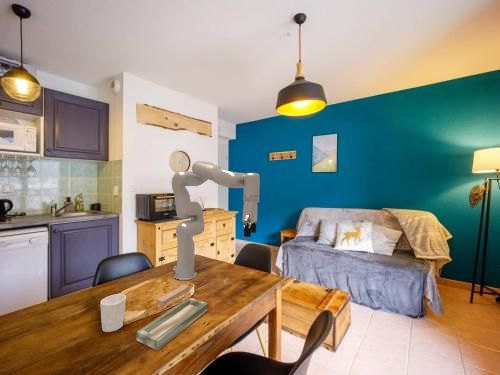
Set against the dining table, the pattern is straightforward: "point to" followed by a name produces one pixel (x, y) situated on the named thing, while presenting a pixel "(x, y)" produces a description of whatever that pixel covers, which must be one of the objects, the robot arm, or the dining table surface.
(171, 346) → the dining table surface
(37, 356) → the dining table surface
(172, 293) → the clay strip
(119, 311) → the white cup
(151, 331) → the glass channel tray
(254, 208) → the robot arm
